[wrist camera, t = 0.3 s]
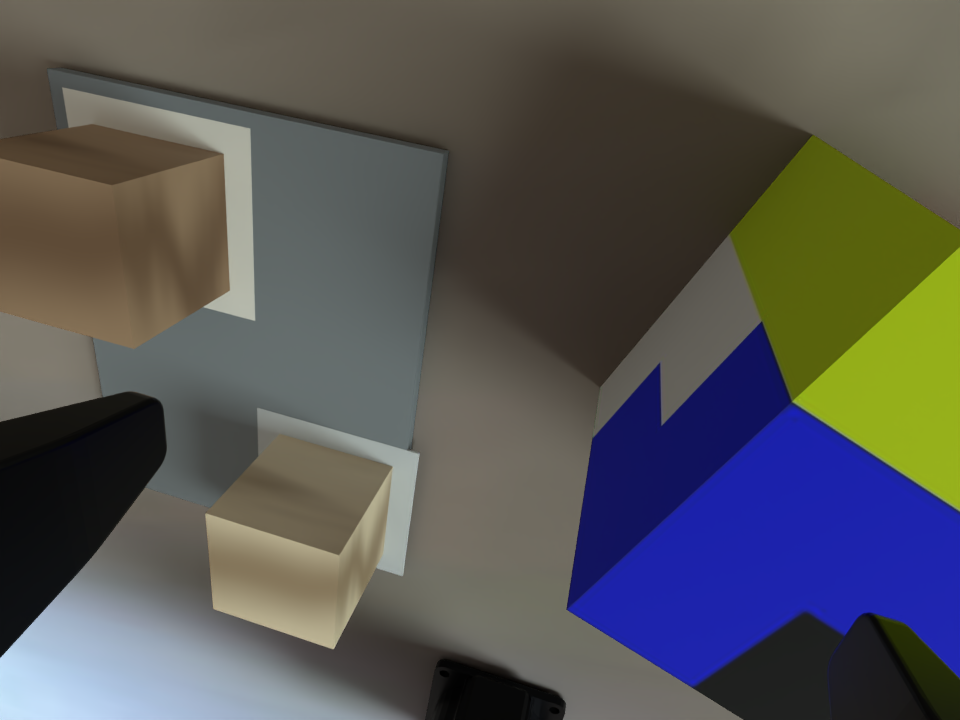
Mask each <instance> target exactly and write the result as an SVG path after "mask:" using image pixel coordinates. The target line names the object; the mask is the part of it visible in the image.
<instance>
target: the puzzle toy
mask: <svg viewBox="0 0 960 720" xmlns="http://www.w3.org/2000/svg"><path fill="white" fill-rule="evenodd" d="M567 610H568V611H570V612H571V613H573V614H574V615H576V616H578V617H579V618H581V619H582V620H584V621H586V622H587V623H589V624H590V625H592V626H594V627H595V628H597V629H599V630H600V631H602V632H603V633H605V634H607V635H608V636H610V637H611V638H613V639H615V640H616V641H618V642H619V643H621V644H623V645H624V646H626V647H627V648H629V649H631V650H632V651H634V652H636V653H637V654H639V655H640V656H642V657H644V658H645V659H647V660H648V661H650V662H652V663H653V664H655V665H656V666H658V667H660V668H661V669H663V670H664V671H666V672H668V673H669V674H671V675H673V676H674V677H676V678H677V679H679V680H681V681H682V682H684V683H685V684H687V685H689V686H690V687H692V688H693V689H695V690H697V691H698V692H700V693H702V694H703V695H705V696H706V697H708V698H710V699H711V700H713V701H714V702H716V703H718V704H719V705H721V706H722V707H724V708H726V709H727V710H729V711H730V712H732V713H734V714H735V715H737V716H739V717H740V718H742V719H743V720H831V715H830V702H829V689H828V665H829V661H830V659H831V656H832V654H833V653H834V651H835V650H836V648H837V647H838V645H839V644H840V642H841V641H842V639H843V638H844V636H845V635H846V633H847V632H848V630H849V629H850V627H851V626H852V625H853V623H854V622H855V620H856V619H857V618H858V617H859V616H860V615H861V614H863V613H867V612H871V613H875V614H879V615H882V616H885V617H889V618H892V619H895V620H898V621H901V622H903V623H905V624H906V625H908V626H909V627H910V628H911V629H912V630H913V631H914V632H915V633H916V634H917V635H918V636H919V637H920V638H921V639H922V640H923V641H924V642H925V643H926V644H927V645H928V646H929V647H930V648H931V649H932V650H933V652H934V653H935V654H936V655H937V656H938V657H939V658H940V659H941V660H942V661H943V662H944V663H945V664H946V665H947V666H948V667H949V668H950V669H951V670H952V671H953V672H954V673H955V674H956V675H957V676H958V677H959V678H960V230H959V229H958V228H956V227H955V226H953V225H952V224H950V223H948V222H947V221H945V220H944V219H942V218H941V217H939V216H938V215H936V214H935V213H933V212H932V211H930V210H928V209H927V208H925V207H924V206H922V205H921V204H919V203H918V202H916V201H915V200H913V199H912V198H910V197H908V196H907V195H905V194H904V193H902V192H901V191H899V190H898V189H896V188H895V187H893V186H891V185H890V184H888V183H887V182H885V181H884V180H882V179H881V178H879V177H878V176H876V175H875V174H873V173H871V172H870V171H868V170H867V169H865V168H864V167H862V166H861V165H859V164H858V163H856V162H854V161H853V160H851V159H850V158H848V157H847V156H845V155H844V154H842V153H841V152H839V151H838V150H836V149H834V148H833V147H831V146H830V145H828V144H827V143H825V142H824V141H822V140H821V139H819V138H817V137H816V136H814V135H812V136H811V138H810V139H809V140H808V141H807V142H806V144H805V145H804V146H803V147H802V148H801V149H800V151H799V152H798V153H797V154H796V155H795V157H794V158H793V159H792V160H791V161H790V163H789V164H788V165H787V166H786V167H785V168H784V170H783V171H782V172H781V173H780V174H779V176H778V177H777V178H776V179H775V180H774V182H773V183H772V184H771V185H770V186H769V187H768V189H767V190H766V191H765V192H764V193H763V195H762V196H761V197H760V198H759V199H758V201H757V202H756V203H755V204H754V205H753V206H752V208H751V209H750V210H749V211H748V212H747V214H746V215H745V216H744V217H743V218H742V220H741V221H740V222H739V223H738V224H737V225H736V227H735V228H734V229H733V230H732V231H731V233H730V234H729V235H728V236H727V237H726V239H725V240H724V241H723V242H722V243H721V245H720V246H719V247H718V248H717V249H716V250H715V252H714V253H713V254H712V255H711V256H710V258H709V259H708V260H707V261H706V262H705V264H704V265H703V266H702V267H701V268H700V269H699V271H698V272H697V273H696V274H695V275H694V277H693V278H692V279H691V280H690V281H689V283H688V284H687V285H686V286H685V287H684V288H683V290H682V291H681V292H680V293H679V294H678V296H677V297H676V298H675V299H674V300H673V302H672V303H671V304H670V305H669V306H668V307H667V309H666V310H665V311H664V312H663V313H662V315H661V316H660V317H659V318H658V319H657V321H656V322H655V323H654V324H653V325H652V326H651V328H650V329H649V330H648V331H647V332H646V334H645V335H644V336H643V337H642V338H641V340H640V341H639V342H638V343H637V344H636V345H635V347H634V348H633V349H632V350H631V351H630V353H629V354H628V355H627V356H626V357H625V359H624V360H623V361H622V362H621V363H620V364H619V366H618V367H617V368H616V369H615V370H614V372H613V373H612V374H611V375H610V376H609V378H608V379H607V380H606V381H605V382H604V383H603V385H602V386H601V387H600V392H599V399H598V405H597V412H596V419H595V425H594V432H593V438H592V445H591V451H590V458H589V465H588V471H587V478H586V484H585V491H584V498H583V504H582V511H581V517H580V524H579V531H578V537H577V544H576V550H575V557H574V564H573V570H572V577H571V583H570V590H569V597H568V603H567Z"/></svg>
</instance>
